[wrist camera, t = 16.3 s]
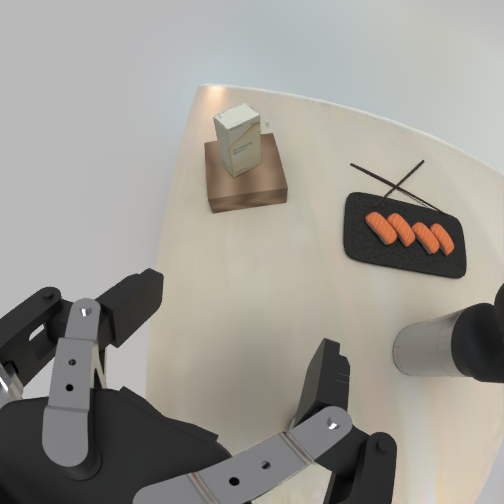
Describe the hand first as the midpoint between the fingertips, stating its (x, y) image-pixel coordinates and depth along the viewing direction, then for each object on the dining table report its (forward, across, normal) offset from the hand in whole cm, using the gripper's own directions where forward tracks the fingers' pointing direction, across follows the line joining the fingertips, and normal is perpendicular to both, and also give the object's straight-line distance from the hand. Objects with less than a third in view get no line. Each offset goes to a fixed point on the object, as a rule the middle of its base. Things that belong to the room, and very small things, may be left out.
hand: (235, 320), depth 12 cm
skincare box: (+40, +14, 0) cm, 42 cm away
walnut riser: (+43, +14, +3) cm, 46 cm away
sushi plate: (+49, -20, -2) cm, 53 cm away
